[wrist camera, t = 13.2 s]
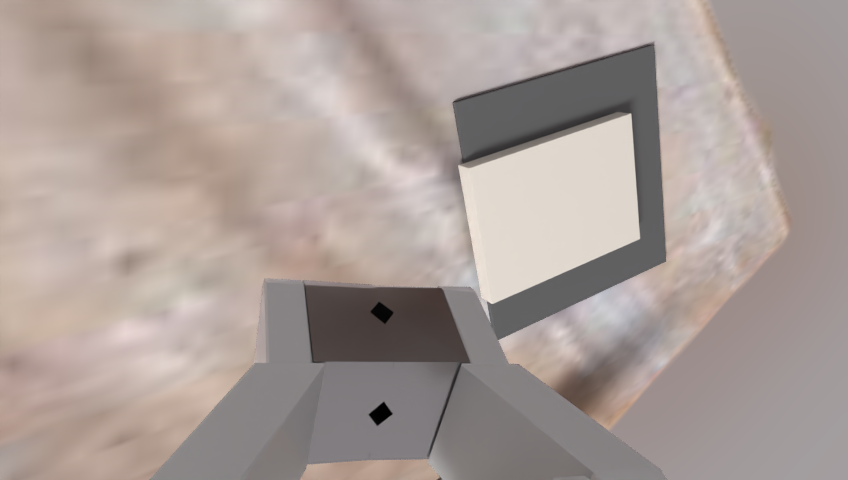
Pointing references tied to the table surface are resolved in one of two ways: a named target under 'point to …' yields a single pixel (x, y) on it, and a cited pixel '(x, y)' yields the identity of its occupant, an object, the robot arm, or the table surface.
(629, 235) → the tile
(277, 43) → the table surface
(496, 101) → the mat
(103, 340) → the table surface
